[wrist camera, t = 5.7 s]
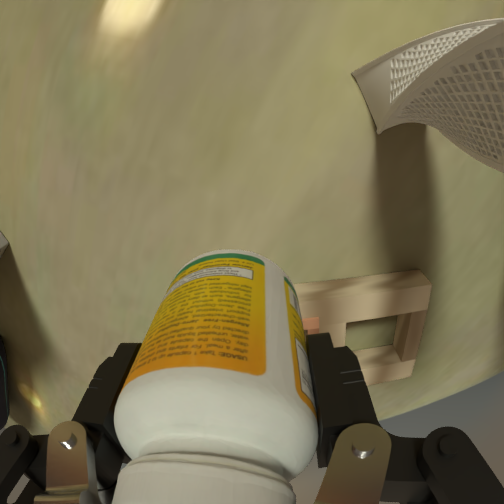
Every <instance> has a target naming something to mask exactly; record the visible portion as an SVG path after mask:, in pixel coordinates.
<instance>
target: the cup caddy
mask: <svg viewBox="0 0 504 504" xmlns="http://www.w3.org/2000/svg"><path fill="white" fill-rule="evenodd" d="M293 286H294V288H295V290H296V293H297V297H298V302H299V307H300V312H301V317H302V322H303V328H304V335H305V341H306V335H309V334H318V333H326V332H329V333H330V336H331V339H332V343H333V347H334V348H335V347H343V346H345V334H346V323H347V322H354V321H361V320H368V319H375V318H381V317H387V316H393V315H398V317H397V323H396V329H395V334H394V340H393V344H392V345H386V346H381V347H375V348H369V349H363V350H356V351H352V352H353V353H354V354H355V355H356V356H357V358H358V361H359V364H360V367H361V371H362V373H363V376H364V380H365V382H366V385H372V384H377V383H382V382H387V381H392V380H397V379H402V378H406V377H410V376H411V374H412V371H413V367H414V364H415V360H416V356H417V352H418V349H419V345H420V341H421V337H422V332H423V328H424V324H425V319H426V314H427V310H428V305H429V299H430V294H431V288H432V283H431V282H430V281H429V280H428V279H427V278H426V277H425V275H424V274H423V273H422V272H421V271H420V270H419V269H416V270H409V271H402V272H394V273H386V274H379V275H371V276H363V277H354V278H346V279H337V280H329V281H320V282H311V283H301V284H293Z"/></svg>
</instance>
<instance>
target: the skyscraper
mask: <svg viewBox="0 0 504 504" xmlns="http://www.w3.org/2000/svg"><path fill="white" fill-rule="evenodd" d="M352 75H353V76H354V77H355V79H356V81H357V83H358V85H359V87H360V89H361V92H362V94H363V96H364V98H365V101H366V103H367V105H368V107H369V110H370V112H371V115H372V117H373V119H374V122H375V124H376V127H377V130H376V132H377V134H378V135H379V134H380V133H382V132H383V130H386V129H388V128H391V127H393V126H396V125H399V124H402V123H411V122H414V123H421V124H426V125H429V126H432V127H434V128H436V129H438V130H439V131H440V132H441V133H442V134H443V135H444V136H445V137H447V138H448V139H449V140H450V141H451V142H452V143H454V144H455V145H456V146H458V147H459V148H460V149H462V150H463V151H464V152H466V153H467V154H469V155H470V156H472V157H473V158H475V159H477V160H478V161H480V162H482V163H484V164H486V165H487V166H489V167H492V168H494V169H496V170H498V171H500V172H503V173H504V18H498V19H489V20H481V21H476V22H471V23H466V24H461V25H457V26H453V27H450V28H447V29H443V30H440V31H437V32H434V33H431V34H428V35H426V36H423V37H421V38H418V39H415V40H413V41H411V42H408V43H406V44H404V45H402V46H400V47H398V48H396V49H393V50H391V51H389V52H388V53H386V54H384V55H382V56H380V57H378V58H376V59H374V60H373V61H371V62H369V63H367V64H365V65H364V66H362V67H360V68H359V69H357V70H355V71H353V72H352Z"/></svg>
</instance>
